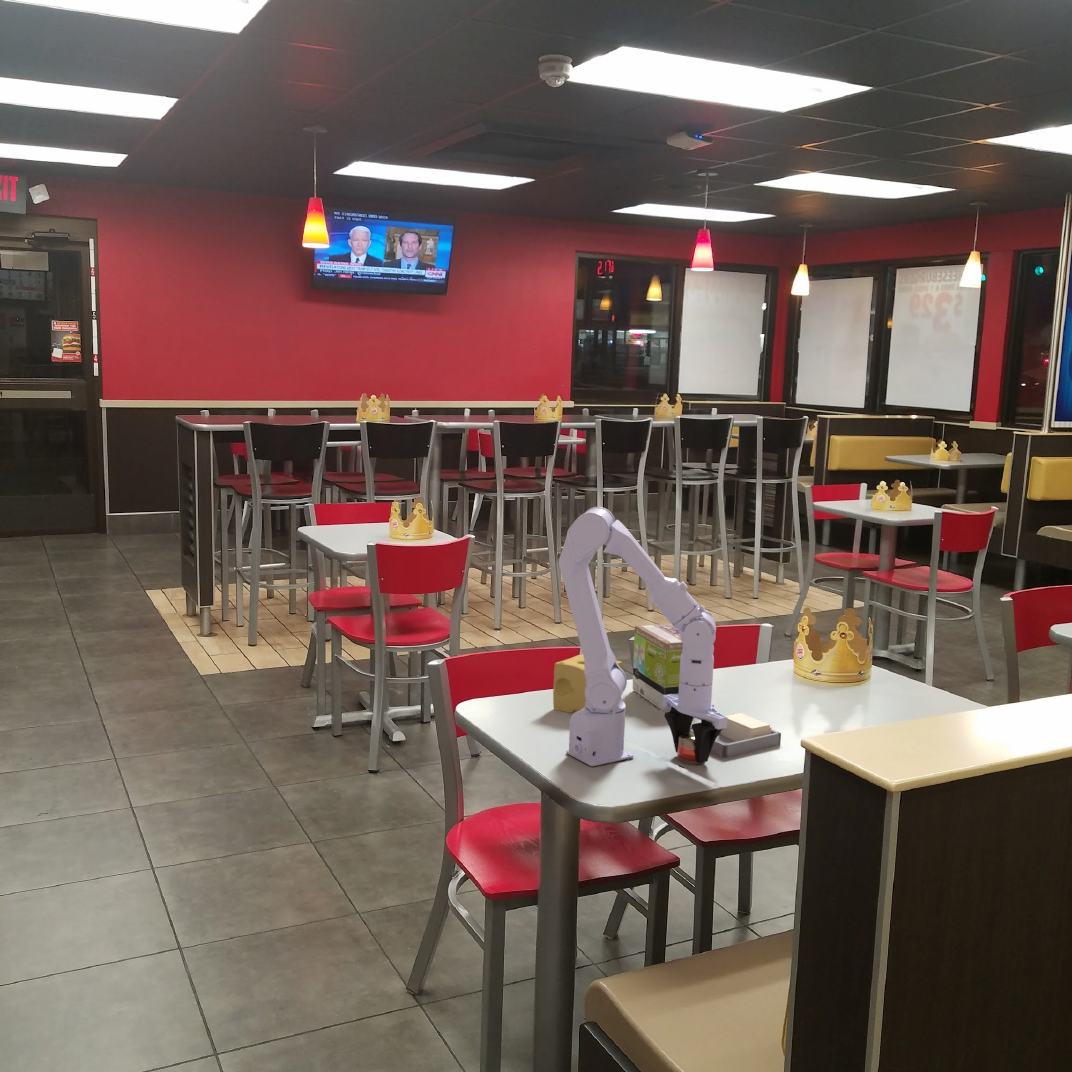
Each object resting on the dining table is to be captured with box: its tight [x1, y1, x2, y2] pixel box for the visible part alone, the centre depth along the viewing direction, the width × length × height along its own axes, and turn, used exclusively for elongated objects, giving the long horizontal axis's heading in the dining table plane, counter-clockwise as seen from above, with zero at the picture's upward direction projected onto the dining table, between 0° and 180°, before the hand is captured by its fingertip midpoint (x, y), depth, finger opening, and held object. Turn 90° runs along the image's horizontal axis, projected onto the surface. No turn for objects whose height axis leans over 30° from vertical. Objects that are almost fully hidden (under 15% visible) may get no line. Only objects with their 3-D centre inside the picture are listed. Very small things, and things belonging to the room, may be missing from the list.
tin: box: [676, 732, 706, 769], centre depth 183 cm, size 5×5×5 cm
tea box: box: [632, 623, 683, 712], centre depth 219 cm, size 15×10×15 cm
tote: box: [690, 725, 782, 759], centre depth 193 cm, size 14×11×3 cm
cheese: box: [552, 653, 624, 714], centre depth 212 cm, size 10×11×10 cm
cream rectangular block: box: [721, 712, 772, 741], centre depth 195 cm, size 5×8×4 cm, turn 33°
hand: (691, 756), depth 183 cm, fingers closed on tin, 5 cm apart
